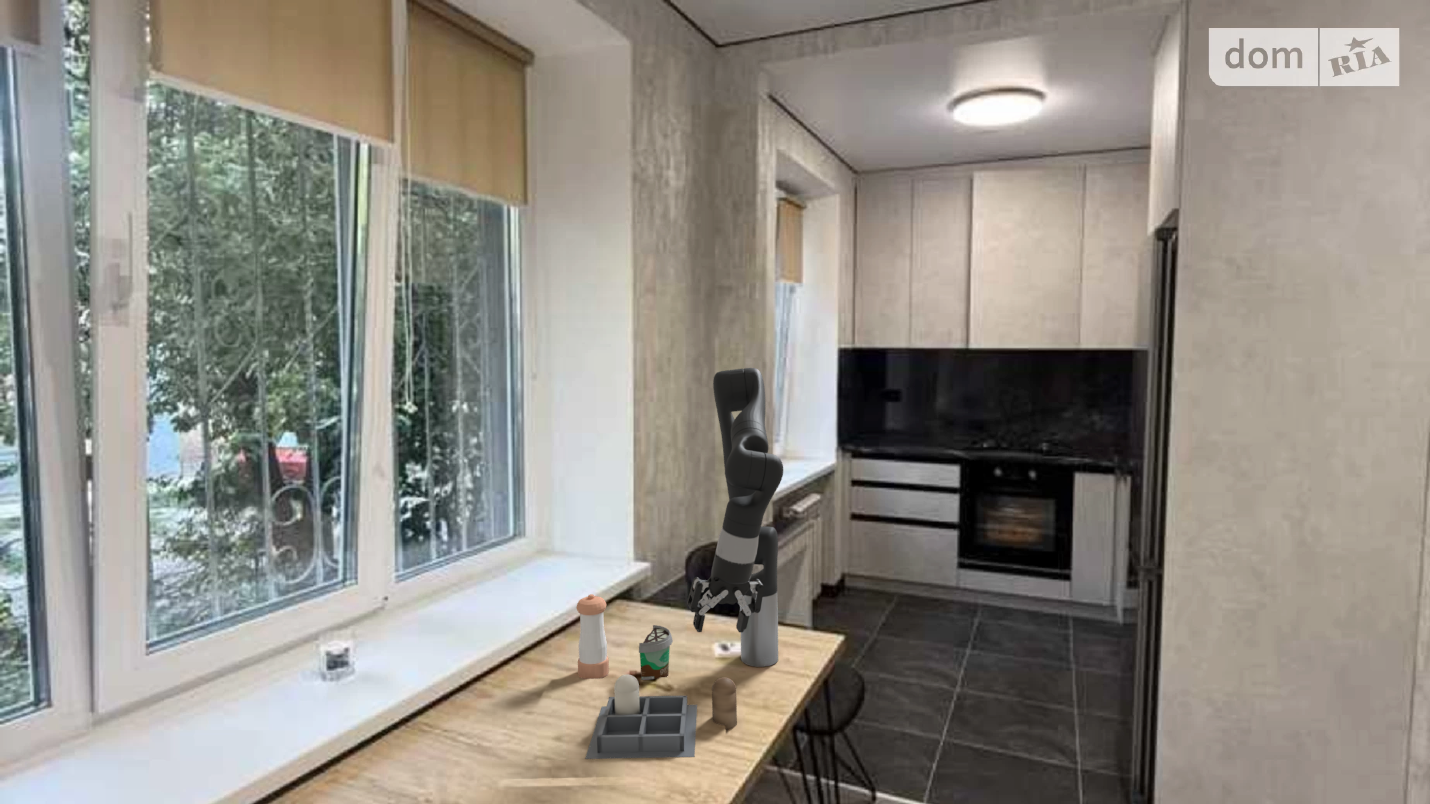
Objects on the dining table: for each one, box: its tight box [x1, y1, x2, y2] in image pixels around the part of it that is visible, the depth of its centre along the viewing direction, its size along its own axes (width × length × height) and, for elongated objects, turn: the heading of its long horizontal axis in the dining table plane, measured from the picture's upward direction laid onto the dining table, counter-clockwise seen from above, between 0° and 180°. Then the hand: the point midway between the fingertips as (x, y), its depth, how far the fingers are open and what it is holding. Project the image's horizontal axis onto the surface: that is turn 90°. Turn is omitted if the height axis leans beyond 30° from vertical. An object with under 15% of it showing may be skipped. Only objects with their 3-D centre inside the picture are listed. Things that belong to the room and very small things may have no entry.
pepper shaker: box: [575, 594, 610, 680], centre depth 178 cm, size 7×7×19 cm
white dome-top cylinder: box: [613, 673, 640, 715], centre depth 153 cm, size 5×5×10 cm
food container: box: [638, 624, 673, 681], centre depth 176 cm, size 12×6×10 cm, turn 168°
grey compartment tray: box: [584, 695, 698, 760], centre depth 149 cm, size 20×20×4 cm
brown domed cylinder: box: [711, 676, 738, 730], centre depth 153 cm, size 5×5×10 cm
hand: (718, 630), depth 143 cm, fingers open, 8 cm apart
